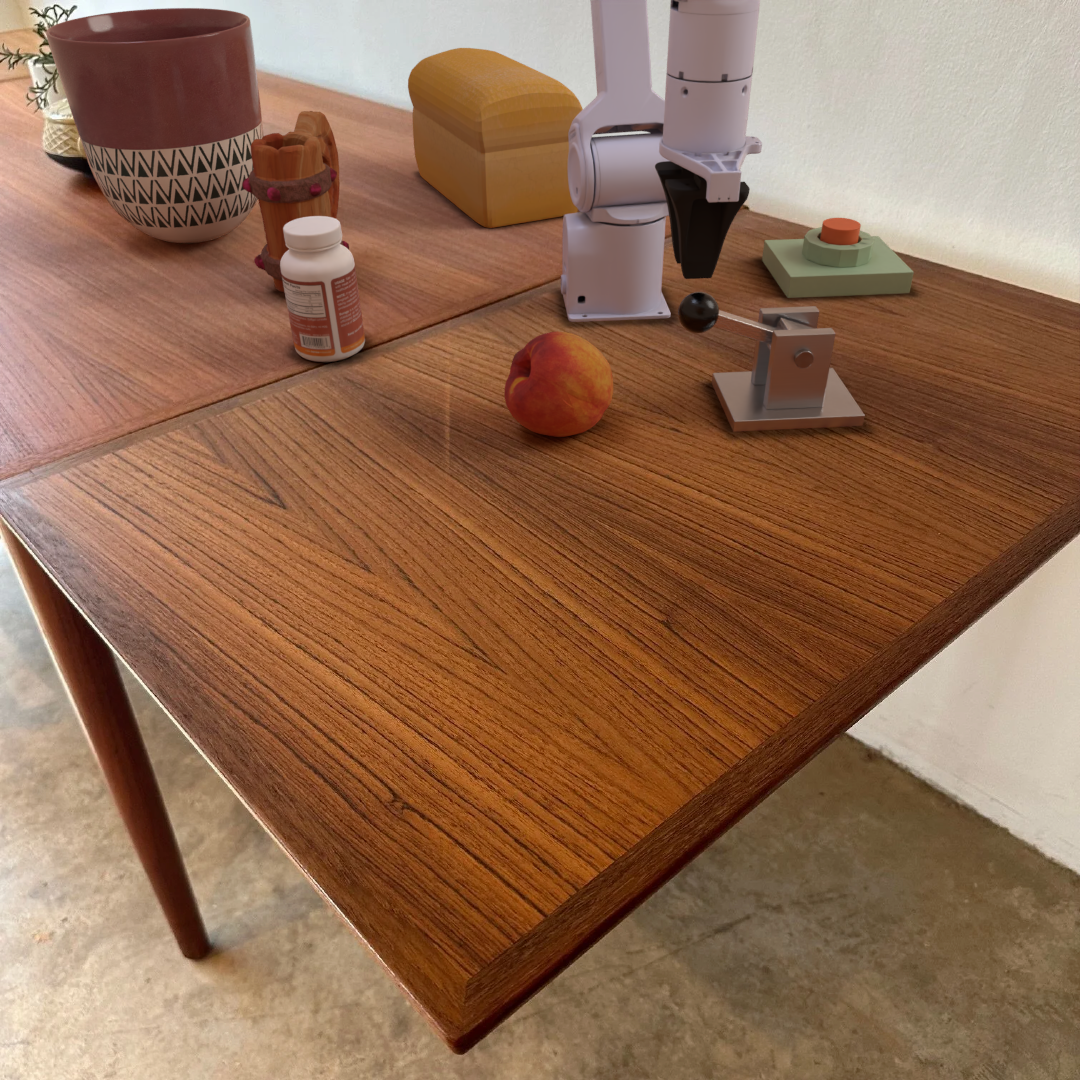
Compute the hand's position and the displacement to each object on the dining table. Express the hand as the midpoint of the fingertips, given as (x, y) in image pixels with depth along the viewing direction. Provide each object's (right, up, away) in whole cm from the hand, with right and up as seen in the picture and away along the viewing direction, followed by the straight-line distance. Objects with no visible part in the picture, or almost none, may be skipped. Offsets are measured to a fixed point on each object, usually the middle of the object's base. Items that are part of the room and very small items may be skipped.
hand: (693, 269), depth 75 cm
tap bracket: (+8, -10, +4) cm, 13 cm away
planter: (-50, +14, +38) cm, 64 cm away
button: (+18, +9, +23) cm, 31 cm away
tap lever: (+3, -6, +1) cm, 7 cm away
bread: (-17, +23, +49) cm, 57 cm away
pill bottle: (-30, -4, +14) cm, 33 cm away
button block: (+18, +6, +26) cm, 32 cm away
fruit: (-10, -12, +2) cm, 16 cm away
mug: (-34, +6, +27) cm, 44 cm away
